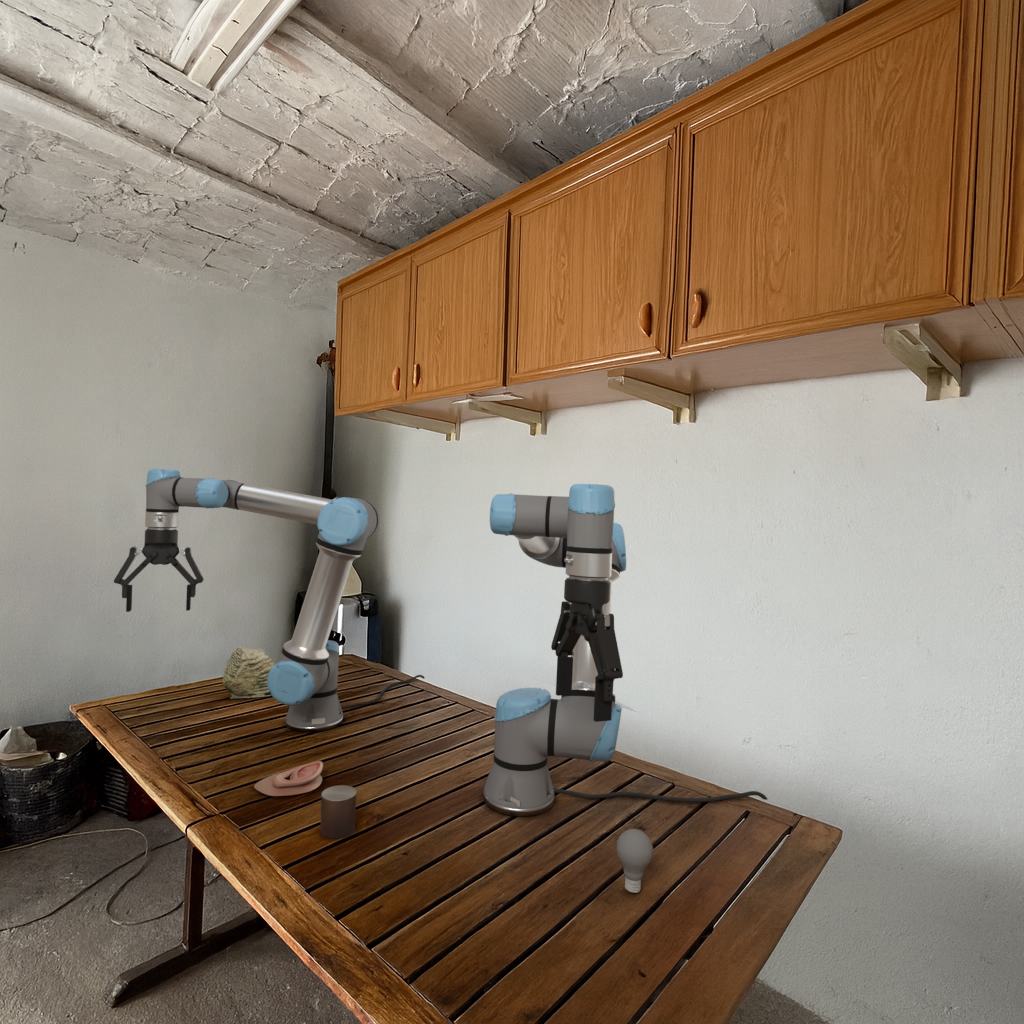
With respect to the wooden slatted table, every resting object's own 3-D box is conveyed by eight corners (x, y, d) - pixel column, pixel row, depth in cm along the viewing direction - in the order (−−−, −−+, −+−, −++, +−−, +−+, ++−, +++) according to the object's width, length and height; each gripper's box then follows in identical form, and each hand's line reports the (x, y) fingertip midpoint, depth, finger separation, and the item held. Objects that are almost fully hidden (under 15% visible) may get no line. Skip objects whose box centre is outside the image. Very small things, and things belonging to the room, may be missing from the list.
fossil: (218, 695, 195) (220, 647, 195) (278, 685, 208) (279, 640, 207) (228, 703, 189) (230, 653, 188) (289, 692, 201) (290, 645, 201)
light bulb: (610, 879, 108) (613, 822, 108) (644, 879, 109) (647, 822, 109) (619, 902, 102) (622, 840, 102) (655, 901, 103) (658, 840, 103)
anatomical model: (246, 773, 134) (276, 753, 145) (245, 792, 134) (276, 770, 145) (303, 782, 131) (330, 760, 142) (302, 801, 131) (329, 777, 142)
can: (316, 826, 122) (317, 789, 122) (348, 818, 125) (350, 782, 125) (325, 842, 117) (327, 803, 116) (359, 833, 120) (361, 796, 120)
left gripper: (102, 528, 156) (99, 614, 156) (213, 530, 165) (210, 611, 165) (109, 526, 163) (106, 608, 163) (215, 528, 172) (213, 606, 172)
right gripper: (536, 569, 114) (531, 686, 114) (605, 588, 91) (599, 735, 91) (573, 569, 117) (568, 684, 117) (650, 588, 94) (643, 730, 94)
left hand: (158, 610), depth 164 cm, fingers open, 13 cm apart
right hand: (581, 707), depth 104 cm, fingers open, 13 cm apart
